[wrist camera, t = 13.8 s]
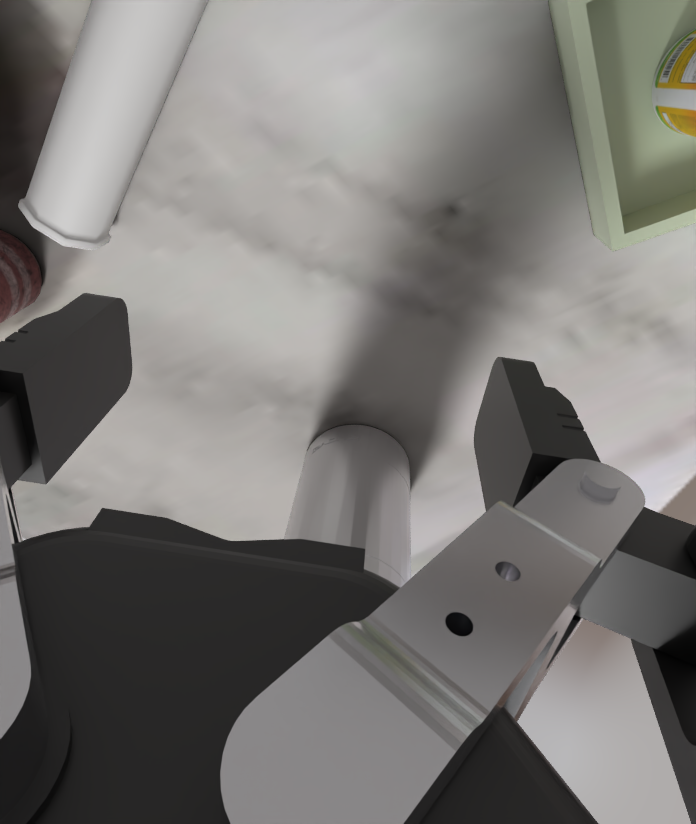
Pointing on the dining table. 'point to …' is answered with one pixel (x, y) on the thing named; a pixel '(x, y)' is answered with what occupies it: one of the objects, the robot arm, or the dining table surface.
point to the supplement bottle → (677, 87)
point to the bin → (625, 115)
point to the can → (17, 276)
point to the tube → (106, 115)
